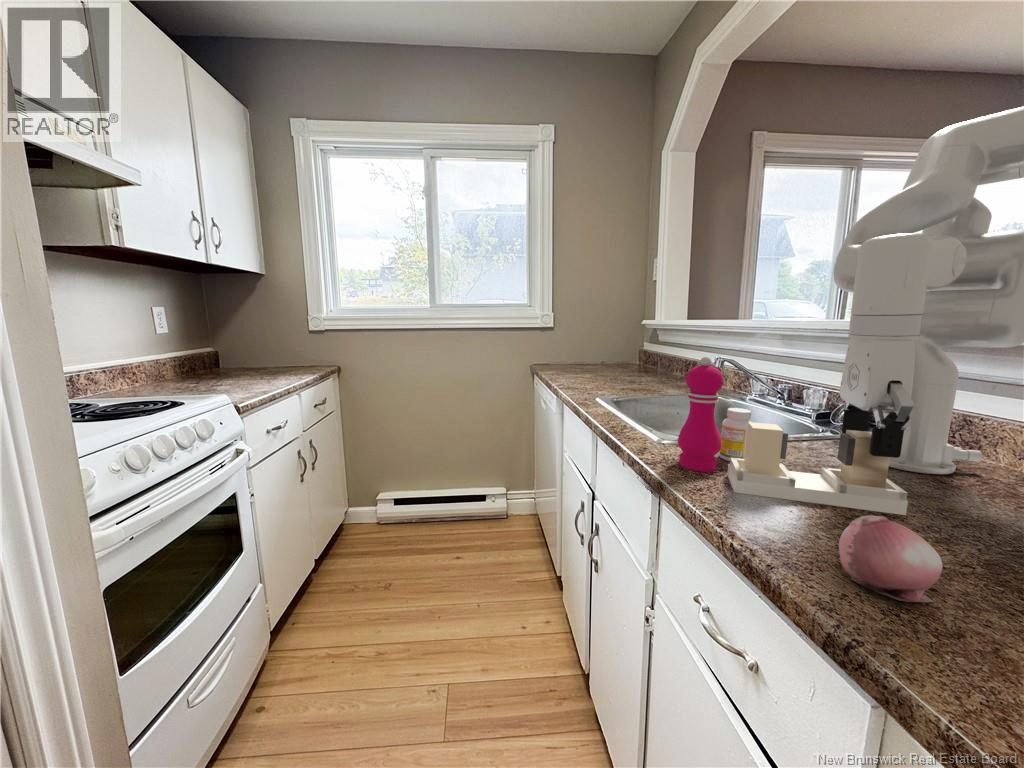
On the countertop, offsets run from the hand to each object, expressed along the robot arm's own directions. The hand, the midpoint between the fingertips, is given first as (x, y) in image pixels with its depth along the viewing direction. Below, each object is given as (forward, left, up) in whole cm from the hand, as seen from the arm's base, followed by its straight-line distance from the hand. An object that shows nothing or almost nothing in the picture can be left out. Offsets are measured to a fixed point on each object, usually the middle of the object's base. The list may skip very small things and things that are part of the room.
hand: (868, 444), depth 61 cm
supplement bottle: (+15, -13, -9) cm, 22 cm away
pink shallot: (+7, +25, -9) cm, 27 cm away
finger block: (0, +1, -6) cm, 6 cm away
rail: (+7, +1, -8) cm, 11 cm away
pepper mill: (+22, -6, -9) cm, 24 cm away
